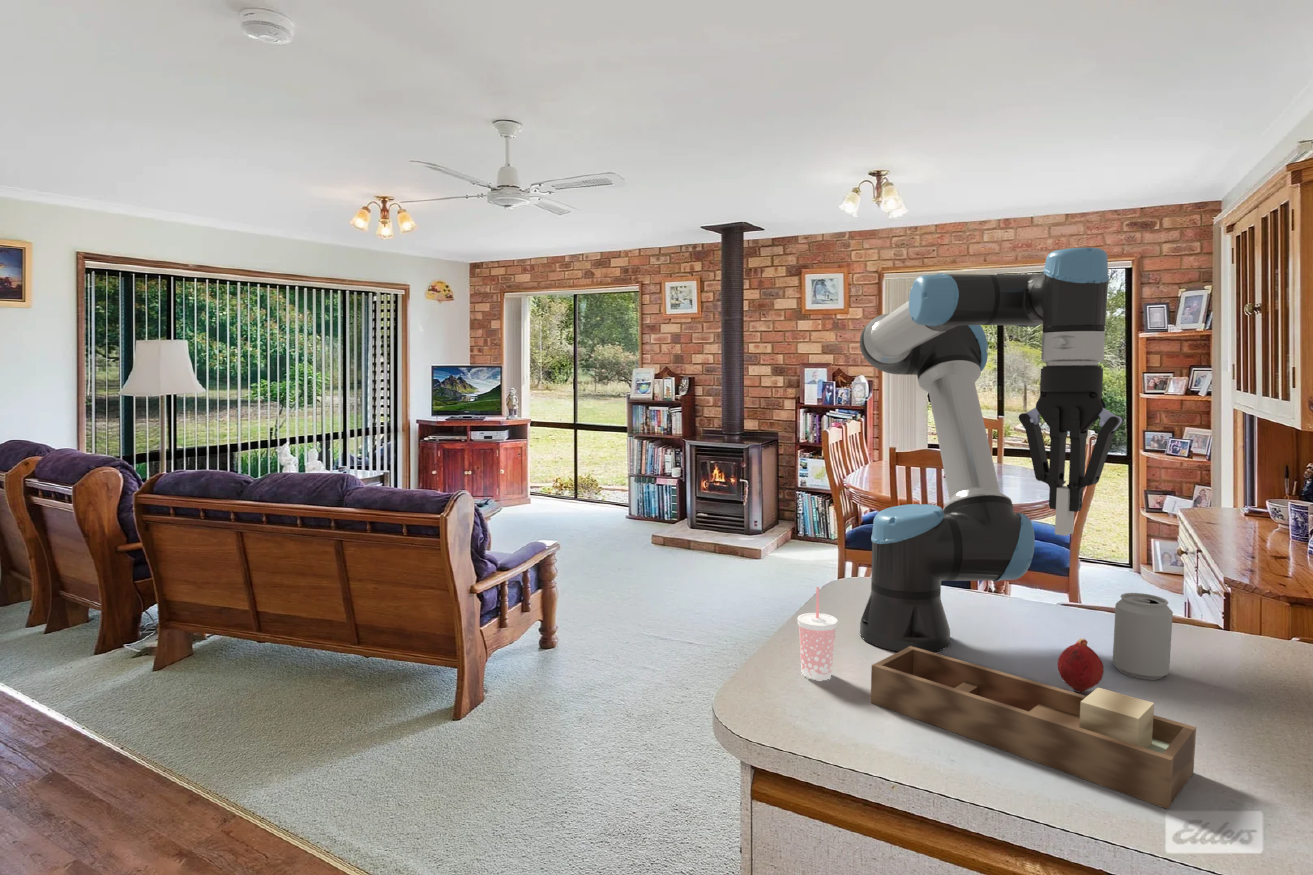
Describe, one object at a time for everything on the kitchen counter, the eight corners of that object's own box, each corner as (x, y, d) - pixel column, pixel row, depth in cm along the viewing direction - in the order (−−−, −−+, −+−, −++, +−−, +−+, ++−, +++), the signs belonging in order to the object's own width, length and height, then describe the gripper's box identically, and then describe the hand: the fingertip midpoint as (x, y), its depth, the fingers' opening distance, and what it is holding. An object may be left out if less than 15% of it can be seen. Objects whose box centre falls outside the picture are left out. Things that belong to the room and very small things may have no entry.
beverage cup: (837, 685, 113) (838, 594, 112) (795, 681, 115) (796, 591, 113) (836, 669, 119) (838, 582, 118) (797, 666, 120) (798, 580, 119)
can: (1178, 683, 113) (1183, 606, 112) (1123, 679, 115) (1127, 603, 114) (1156, 664, 121) (1160, 591, 120) (1104, 661, 122) (1108, 589, 121)
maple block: (1078, 742, 89) (1080, 701, 89) (1095, 726, 93) (1097, 687, 93) (1136, 761, 85) (1138, 718, 85) (1151, 743, 89) (1154, 702, 89)
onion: (1085, 703, 107) (1088, 648, 106) (1047, 688, 112) (1050, 636, 111) (1110, 695, 109) (1113, 641, 109) (1072, 681, 114) (1075, 629, 114)
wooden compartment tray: (870, 702, 107) (871, 665, 107) (909, 680, 115) (910, 645, 114) (1168, 809, 81) (1171, 760, 80) (1193, 772, 88) (1196, 727, 88)
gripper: (1011, 364, 105) (1005, 530, 107) (1116, 363, 96) (1107, 545, 98) (1032, 364, 110) (1026, 523, 112) (1134, 363, 101) (1125, 536, 103)
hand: (1064, 533), depth 105 cm, fingers closed
